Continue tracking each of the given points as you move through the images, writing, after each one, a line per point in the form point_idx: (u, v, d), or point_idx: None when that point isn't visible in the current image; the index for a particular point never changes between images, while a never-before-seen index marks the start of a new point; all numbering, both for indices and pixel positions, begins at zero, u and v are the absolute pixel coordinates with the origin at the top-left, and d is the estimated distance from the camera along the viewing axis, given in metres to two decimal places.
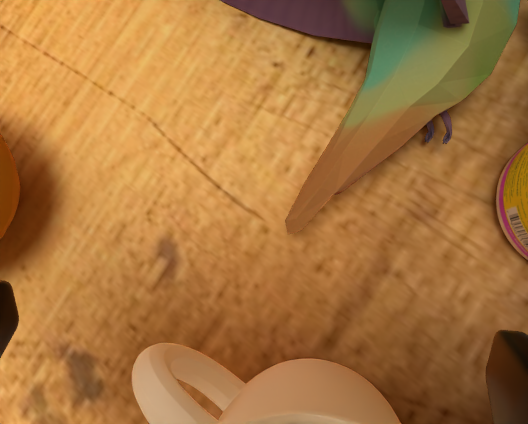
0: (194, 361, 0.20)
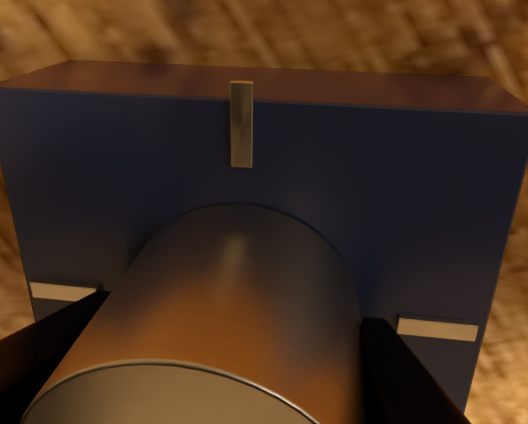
0: None
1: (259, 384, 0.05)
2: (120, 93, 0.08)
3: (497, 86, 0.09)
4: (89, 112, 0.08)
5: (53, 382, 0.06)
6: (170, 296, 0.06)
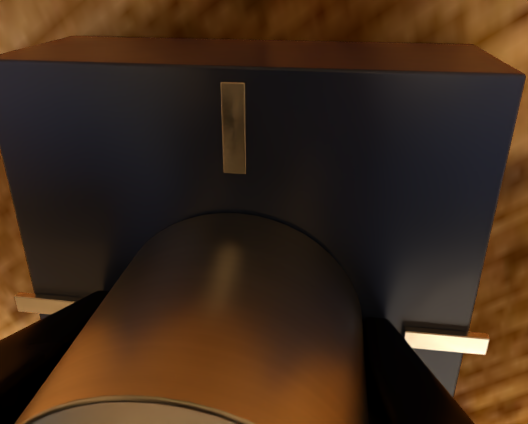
0: None
1: None
2: (490, 233, 0.08)
3: None
4: (475, 200, 0.08)
5: (26, 418, 0.05)
6: (157, 320, 0.06)
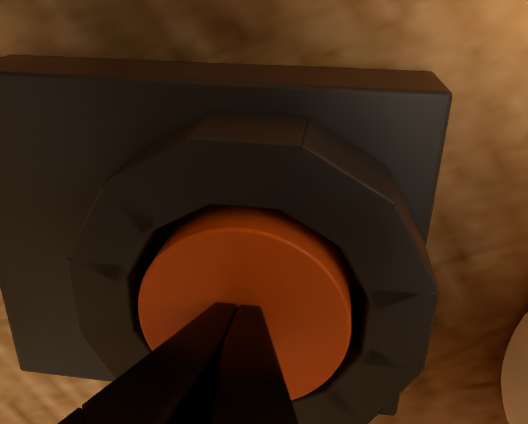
0: None
1: None
2: None
3: None
4: None
5: None
6: None
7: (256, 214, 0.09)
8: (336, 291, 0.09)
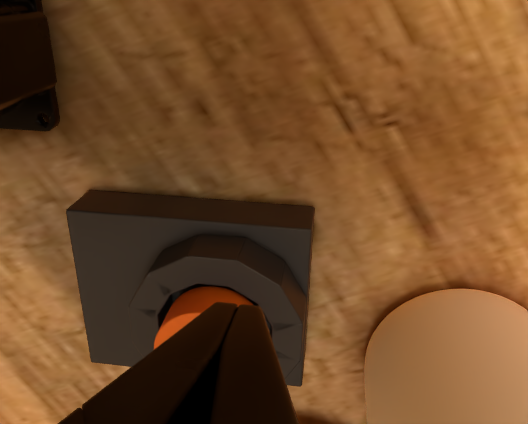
0: None
1: None
2: None
3: None
4: None
5: None
6: None
7: (212, 304, 0.18)
8: None
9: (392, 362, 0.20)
